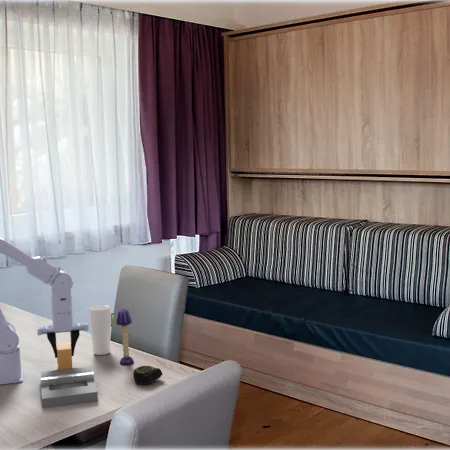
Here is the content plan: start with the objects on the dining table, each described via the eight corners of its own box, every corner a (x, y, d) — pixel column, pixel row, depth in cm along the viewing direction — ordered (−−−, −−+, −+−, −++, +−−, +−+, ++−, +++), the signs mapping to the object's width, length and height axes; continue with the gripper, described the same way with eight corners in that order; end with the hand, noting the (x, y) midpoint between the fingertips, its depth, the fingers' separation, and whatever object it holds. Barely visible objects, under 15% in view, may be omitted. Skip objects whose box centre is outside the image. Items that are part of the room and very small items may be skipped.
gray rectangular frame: (42, 408, 164) (41, 398, 164) (41, 380, 183) (40, 371, 183) (97, 400, 168) (97, 391, 168) (91, 374, 187) (90, 366, 187)
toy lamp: (130, 366, 193) (128, 312, 191) (115, 365, 194) (113, 311, 192) (135, 360, 198) (133, 308, 195) (121, 360, 198) (119, 307, 196)
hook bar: (41, 385, 172) (40, 380, 172) (41, 383, 174) (40, 377, 174) (94, 379, 176) (93, 373, 176) (93, 377, 178) (93, 371, 178)
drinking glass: (102, 357, 201) (100, 311, 199) (86, 354, 204) (84, 308, 202) (116, 351, 206) (115, 306, 204) (101, 348, 210) (99, 303, 208)
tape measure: (147, 388, 176) (146, 375, 176) (128, 383, 180) (128, 370, 179) (162, 380, 182) (162, 367, 181) (144, 375, 186) (143, 363, 185)
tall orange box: (58, 370, 186) (57, 350, 186) (57, 362, 193) (56, 343, 192) (72, 368, 188) (71, 348, 187) (70, 360, 194) (70, 341, 193)
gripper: (86, 305, 194) (88, 349, 196) (36, 310, 190) (38, 354, 192) (88, 311, 187) (90, 356, 189) (36, 316, 183) (39, 362, 185)
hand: (64, 355), depth 190 cm, fingers closed on tall orange box, 4 cm apart
